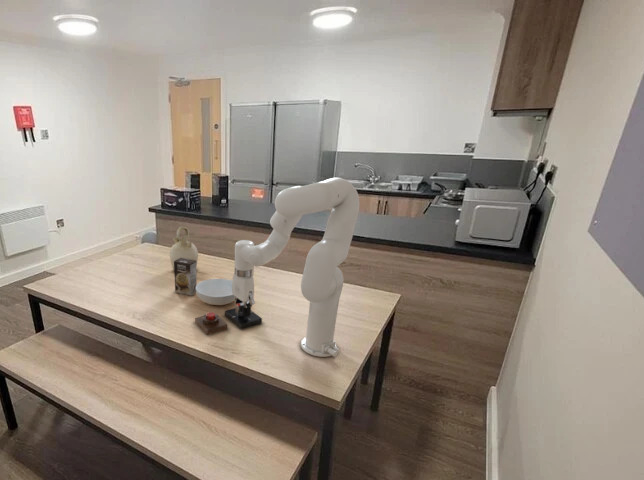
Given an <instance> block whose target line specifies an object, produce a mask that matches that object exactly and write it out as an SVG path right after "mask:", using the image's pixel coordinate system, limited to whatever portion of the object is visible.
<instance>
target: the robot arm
mask: <svg viewBox="0 0 644 480" xmlns="http://www.w3.org/2000/svg"><path fill="white" fill-rule="evenodd" d="M360 204H361V203H360V196H359V193H358V190H357V189H356V187H355V186H354V185H353V184H352V183H351V182H350V181H349V180H347V179H344V178H341V177H331V178H327V179H325V180H321V181H318V182H313V183H309V184H305V185H293V186H290V187H287V188H284V189H282V190H281V191H279V192H278V193H277V195H276V196H275V199H274V208H275V211H274V213H273V215H272V216H271V217H270V220H269V224H270V226H271V228H272V231H271V233H270V234H269V236H268V237H267V238H266V240H265V241H264V242H261V243H259V244H256V245H255V243H254V242H253V241H252V240H249V239H241V240H238V241H237V242H235V244H234V272H233V276H232V281H233V283H232V294H233V295H234V296H235V305H236V304H237V303H243V302H244V306H245V307H244V312H243V316H248V315H251V311H252V307H253V306H254V305H255V304H256V301H255V279H254V272H255V271H254V269H255V267H262V266H264V265H266V264H268V263H270V262H272V261H273V260H275V259H276V258H278V257H279V256H280V254H281V253H282V252H283V250H284V249H285V247H286V246H287V245H288V243H289V241H290V238H291V234H292V232H293V230H294V229H295V227H296V226H297V224H298V223H299V221H300V220H301V219H302V217H303V216H304V215H307V214H308V215H309V214H313V213H314V214H315V213H320V212H324V211H327V210H329V209H331V212H330V214H329V216H328V219H327V222H326V225H325V231H324V233H323V237H322V239H321V240H320V241H318V242H316V243H315V244H314V245H312V247H310V249H309V251H308V253H307V255H306V259H305V263H304V269H303V272H302V276H301V282H300V291H301V294H302V296H303V298H305V300H306V301H308V302H309V305H308V306H309V307H308V315H307V326H306V335H305V337H304V338H303V339H302V340H301V342H300V347H301V349H302V350H303V351H304V352H305V353H307V354H309V355H311V356H314V357H319V358H320V357H321V358H325V357H326V358H327V357H331V356H332V357H334V358H336V357H337V356H338V353H339V352H340V350H341V349H340V348H339V347H338V346H337V344H336V340H335V339H334V338H335V333H336V332H335V331H336V324H337V317H338V310H339V303H340V299H341V296H342V295H341V294H342V291H343V287H344V281H345V280H344V278H345V277H344V273H343V272H342V270H341V269H340V268H339V266H340V265H341V264H342V263H344V262H345V261H346V259H347V258H348V255H349V251H350V247H351V244H352V240H353V237H354V232H355V229H356V224H357V220H358V216H359V213H360ZM247 302H249V303H248V304H247ZM234 308H235V309H236V306H235V307H234Z"/></svg>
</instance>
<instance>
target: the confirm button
mask: <svg viewBox="0 0 644 480" xmlns="http://www.w3.org/2000/svg"><path fill="white" fill-rule="evenodd" d="M205 314H206V318H207V319H208V320H213V319H215V314H216V313H215V312H212V311H209V312H207V313H205Z"/></svg>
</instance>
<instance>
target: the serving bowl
mask: <svg viewBox="0 0 644 480" xmlns="http://www.w3.org/2000/svg"><path fill="white" fill-rule="evenodd" d="M232 283H233V279H227V278H209V279H205V280H201V281H200V282H197V285H196V292H195V293H196V296H197V297H198V299H199V300H200V301H202V302H203V303H205V304H208V305H213V306H224V305H228V304H231V303H233V302H234V301H235V296H234V295H233V294H232ZM235 302H236V301H235Z"/></svg>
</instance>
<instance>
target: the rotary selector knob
mask: <svg viewBox="0 0 644 480" xmlns="http://www.w3.org/2000/svg"><path fill="white" fill-rule="evenodd" d="M248 303H249V301H248V302H247V304H248ZM235 307H236V316H237V317H240V316H243V312H244V307H245V306H244V302H243V303H237V304H236V303H235Z"/></svg>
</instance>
